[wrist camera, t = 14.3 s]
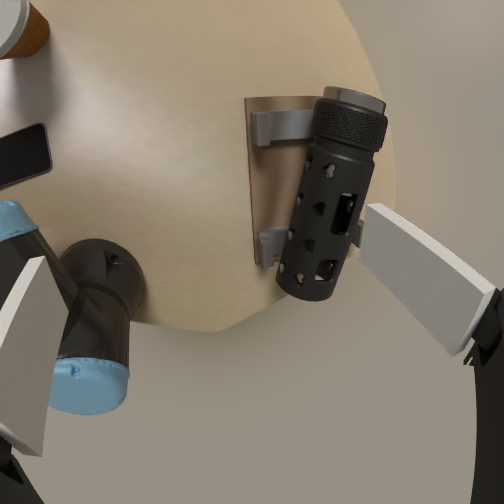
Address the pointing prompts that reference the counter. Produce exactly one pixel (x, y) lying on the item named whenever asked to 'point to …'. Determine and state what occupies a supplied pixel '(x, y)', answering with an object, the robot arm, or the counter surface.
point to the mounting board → (277, 168)
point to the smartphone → (24, 154)
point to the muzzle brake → (331, 191)
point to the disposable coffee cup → (21, 29)
